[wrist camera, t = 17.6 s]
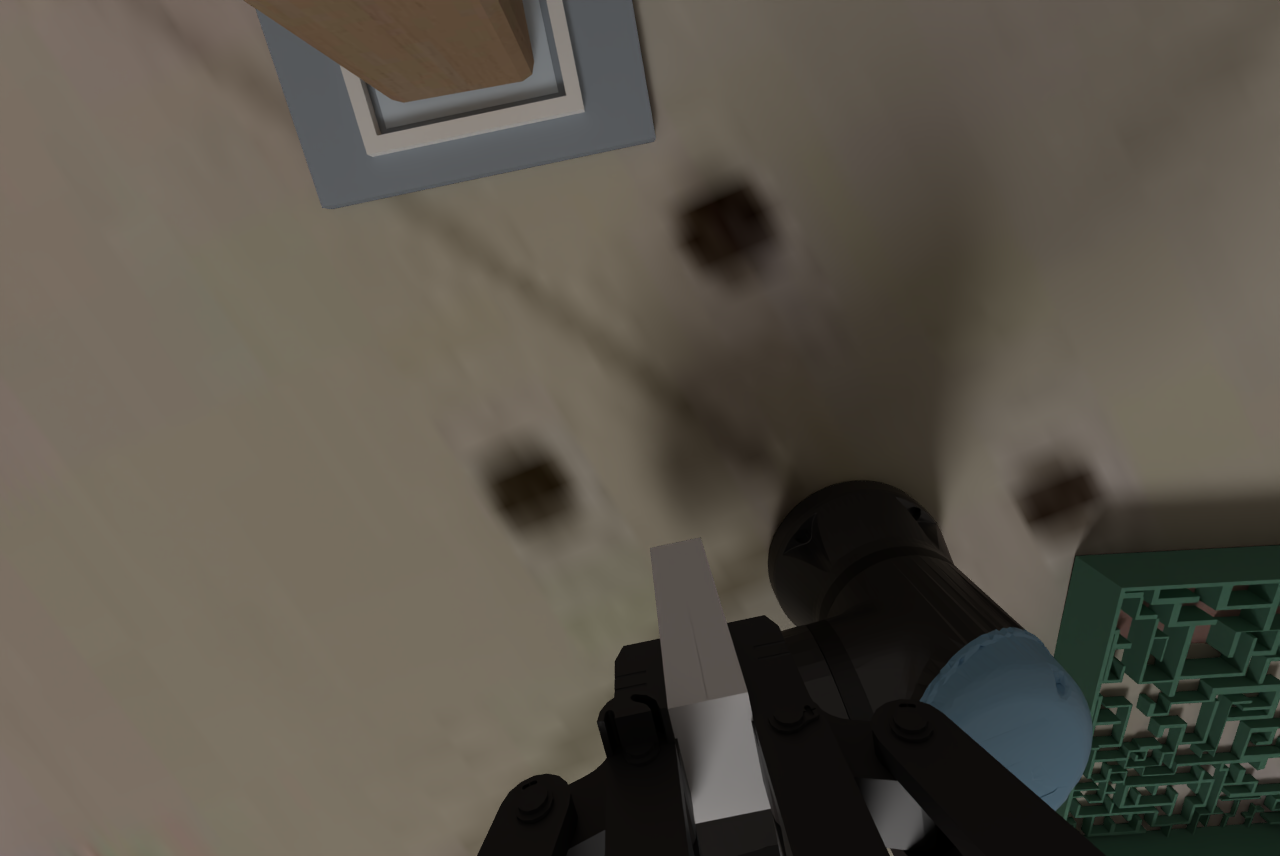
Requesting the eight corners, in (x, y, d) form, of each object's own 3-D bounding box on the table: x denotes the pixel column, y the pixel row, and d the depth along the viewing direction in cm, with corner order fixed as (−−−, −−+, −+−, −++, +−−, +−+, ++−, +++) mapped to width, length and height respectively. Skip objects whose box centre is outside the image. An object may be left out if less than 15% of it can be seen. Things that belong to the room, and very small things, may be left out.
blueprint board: (594, -203, 37) (593, -234, 35) (654, 141, 43) (656, 135, 41) (222, -122, 38) (195, -147, 35) (331, 209, 44) (315, 207, 41)
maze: (1009, 832, 66) (1046, 886, 61) (1070, 552, 55) (1121, 588, 50) (1314, 811, 67) (1377, 863, 62) (1433, 533, 56) (1522, 566, 51)
